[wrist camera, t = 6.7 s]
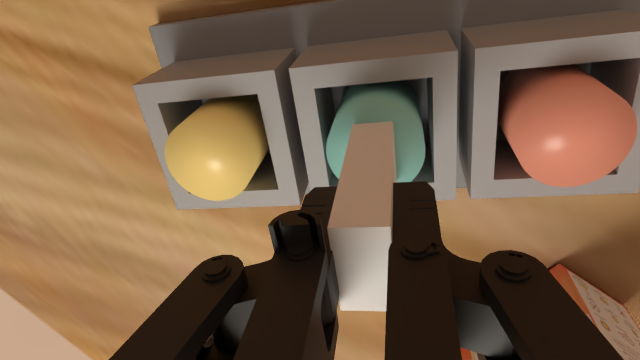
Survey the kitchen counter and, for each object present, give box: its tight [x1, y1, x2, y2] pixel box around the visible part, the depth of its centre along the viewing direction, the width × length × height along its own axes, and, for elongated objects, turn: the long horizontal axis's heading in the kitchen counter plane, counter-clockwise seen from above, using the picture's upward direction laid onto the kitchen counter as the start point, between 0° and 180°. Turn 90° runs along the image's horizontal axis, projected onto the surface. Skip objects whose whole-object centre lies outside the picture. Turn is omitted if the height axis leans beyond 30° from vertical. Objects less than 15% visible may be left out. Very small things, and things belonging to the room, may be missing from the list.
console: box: [132, 0, 640, 210], centre depth 20 cm, size 22×10×5 cm, turn 99°
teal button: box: [326, 80, 425, 182], centre depth 18 cm, size 4×4×4 cm
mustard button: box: [165, 94, 270, 201], centre depth 19 cm, size 4×4×4 cm
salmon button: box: [497, 64, 637, 187], centre depth 17 cm, size 4×4×4 cm
